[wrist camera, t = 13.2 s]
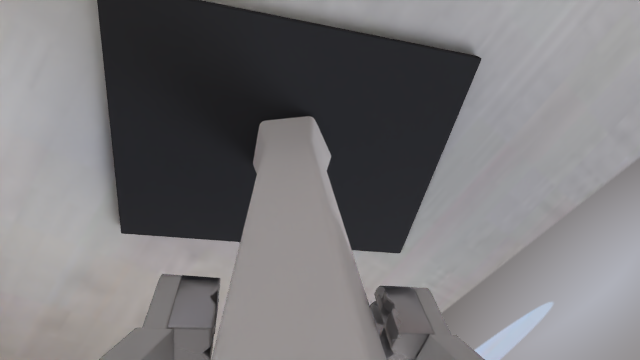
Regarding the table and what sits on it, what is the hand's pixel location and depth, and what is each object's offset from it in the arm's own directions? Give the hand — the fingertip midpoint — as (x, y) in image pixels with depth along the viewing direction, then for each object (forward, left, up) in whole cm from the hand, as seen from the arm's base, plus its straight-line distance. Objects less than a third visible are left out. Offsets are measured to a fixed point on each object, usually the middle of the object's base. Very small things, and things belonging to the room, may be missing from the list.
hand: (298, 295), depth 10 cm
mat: (0, 0, -9) cm, 9 cm away
